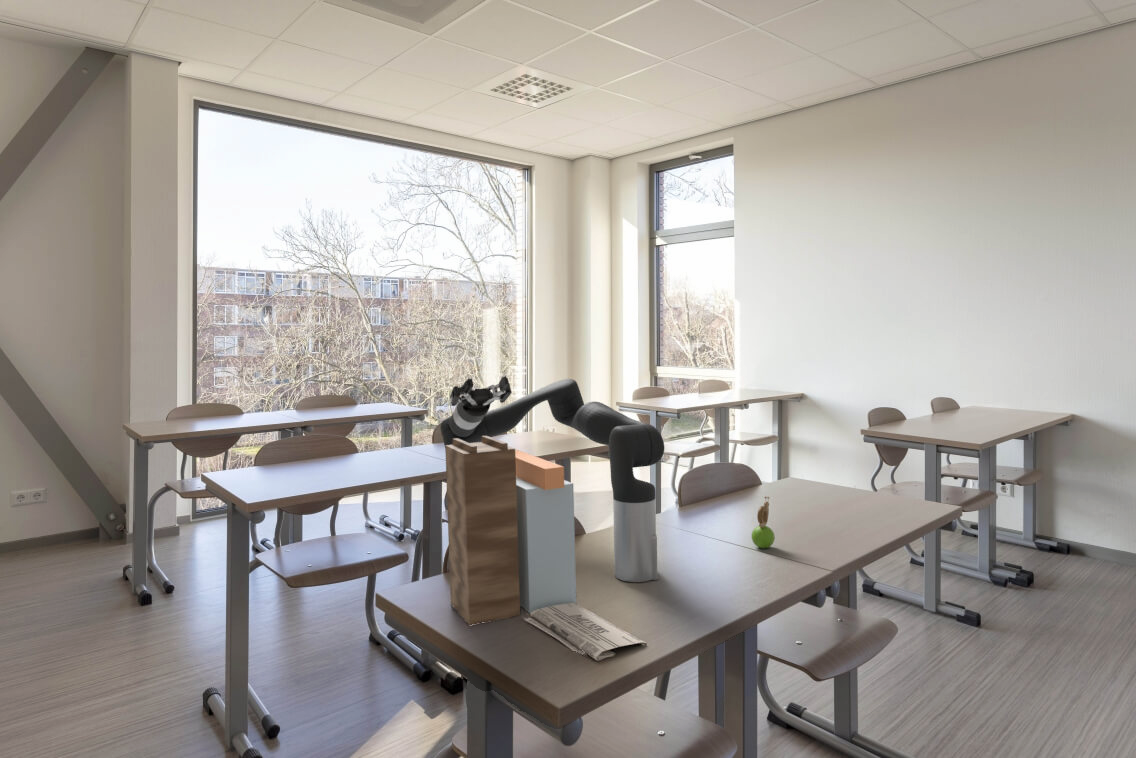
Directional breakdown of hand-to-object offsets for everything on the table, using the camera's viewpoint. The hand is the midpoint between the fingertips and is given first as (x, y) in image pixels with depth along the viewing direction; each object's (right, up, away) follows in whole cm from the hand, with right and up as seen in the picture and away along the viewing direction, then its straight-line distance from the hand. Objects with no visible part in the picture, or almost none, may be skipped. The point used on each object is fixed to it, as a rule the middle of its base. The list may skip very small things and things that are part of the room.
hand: (488, 380), depth 161 cm
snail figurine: (+67, -41, +8) cm, 79 cm away
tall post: (+2, -45, -27) cm, 52 cm away
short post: (+13, -44, -22) cm, 51 cm away
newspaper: (+21, -46, -39) cm, 64 cm away
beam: (+11, -20, -20) cm, 30 cm away
